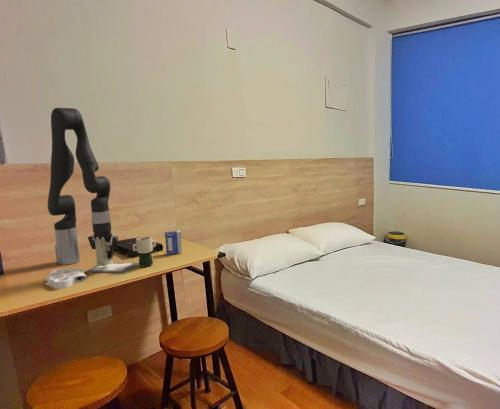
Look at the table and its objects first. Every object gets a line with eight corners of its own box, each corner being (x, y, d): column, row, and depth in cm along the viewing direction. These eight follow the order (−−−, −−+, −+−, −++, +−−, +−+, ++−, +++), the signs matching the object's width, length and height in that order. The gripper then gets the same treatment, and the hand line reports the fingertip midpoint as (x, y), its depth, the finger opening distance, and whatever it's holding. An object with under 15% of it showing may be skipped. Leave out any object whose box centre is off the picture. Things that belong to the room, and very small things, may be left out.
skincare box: (105, 266, 144) (102, 239, 142) (96, 266, 145) (94, 239, 143) (114, 261, 150) (111, 236, 149) (105, 261, 151) (103, 236, 149)
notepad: (85, 272, 145) (85, 270, 145) (103, 262, 158) (103, 261, 158) (124, 273, 142) (124, 271, 142) (139, 263, 155) (139, 262, 154)
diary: (141, 244, 194) (141, 236, 193) (163, 251, 176) (162, 242, 176) (110, 250, 181) (109, 242, 180) (130, 259, 163) (129, 250, 162)
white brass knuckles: (88, 283, 133) (46, 293, 124) (81, 271, 147) (43, 279, 139) (87, 275, 132) (45, 284, 124) (80, 264, 147) (42, 272, 138)
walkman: (166, 255, 167) (165, 232, 165) (166, 253, 170) (165, 231, 168) (182, 253, 169) (180, 231, 167) (182, 252, 172) (180, 230, 170)
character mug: (154, 261, 158) (151, 235, 156) (160, 264, 153) (158, 237, 151) (131, 266, 151) (129, 239, 149) (137, 270, 146) (135, 241, 144)
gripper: (81, 222, 142) (85, 260, 145) (111, 223, 140) (114, 261, 142) (92, 219, 150) (96, 255, 152) (120, 219, 147) (124, 256, 150)
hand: (105, 258), depth 147 cm, fingers closed on skincare box, 4 cm apart
